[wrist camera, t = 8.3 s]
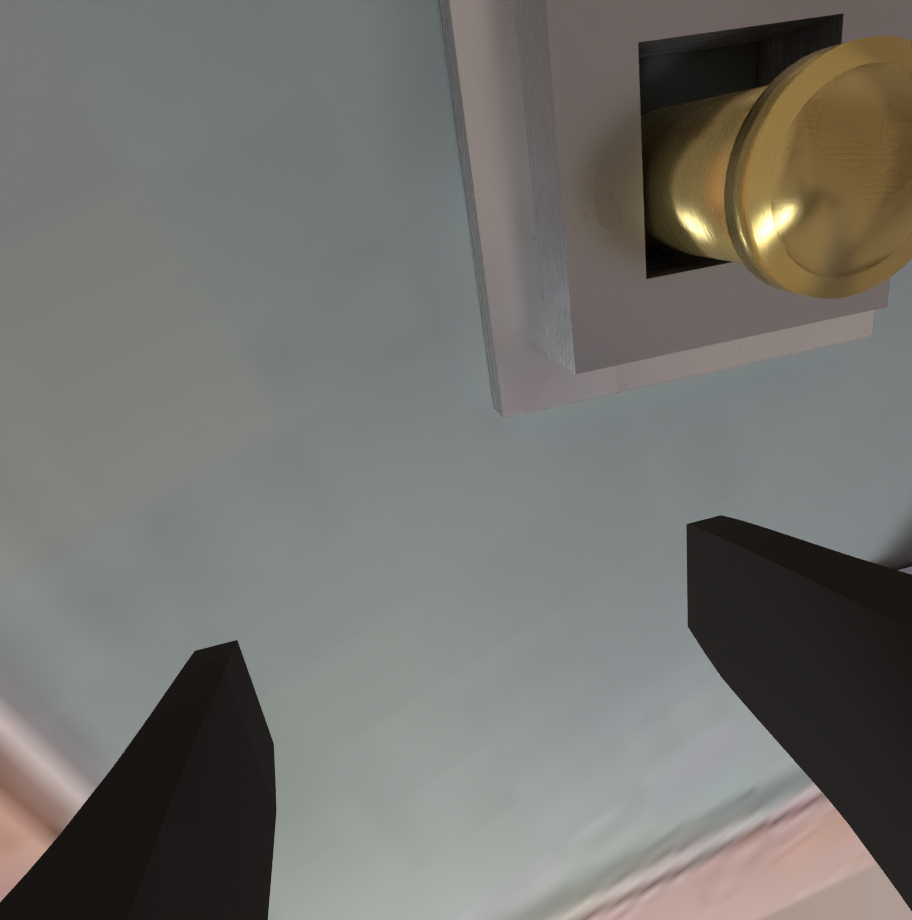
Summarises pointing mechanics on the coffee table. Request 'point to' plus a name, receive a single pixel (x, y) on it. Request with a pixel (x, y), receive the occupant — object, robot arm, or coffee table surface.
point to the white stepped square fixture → (616, 194)
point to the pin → (792, 172)
